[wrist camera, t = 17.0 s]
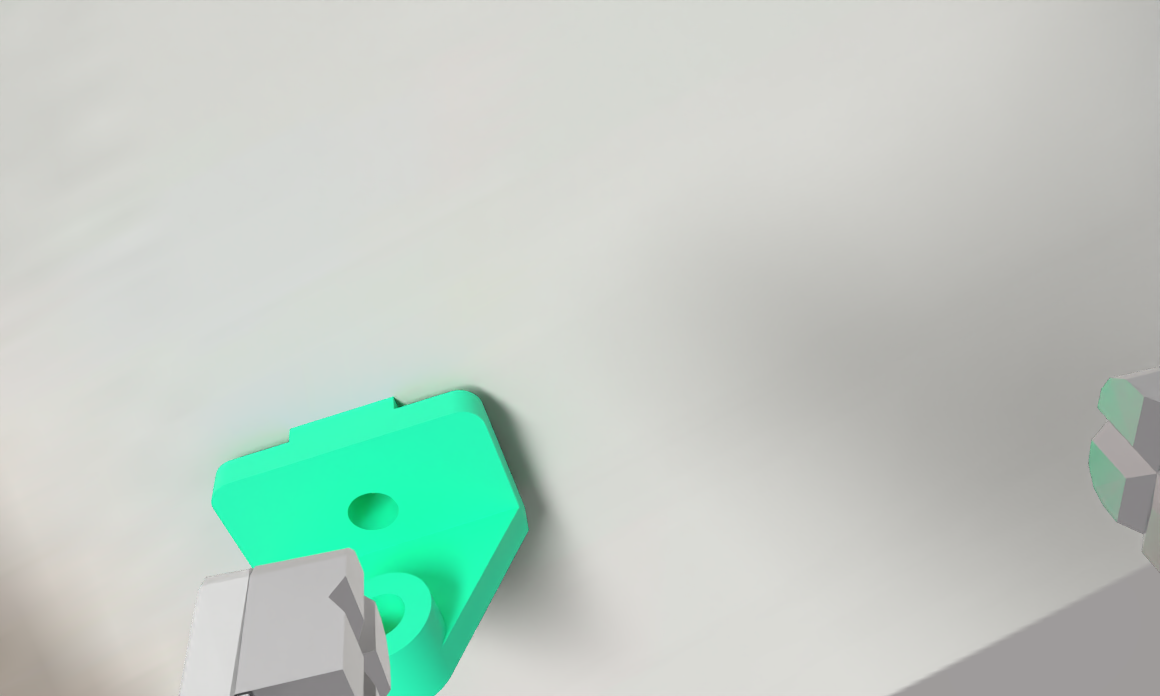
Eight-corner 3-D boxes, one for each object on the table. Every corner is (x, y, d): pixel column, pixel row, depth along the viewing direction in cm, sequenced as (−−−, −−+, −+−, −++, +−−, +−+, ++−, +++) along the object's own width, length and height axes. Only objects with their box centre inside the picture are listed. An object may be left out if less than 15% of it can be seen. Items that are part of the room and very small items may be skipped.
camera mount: (472, 369, 45) (496, 535, 37) (521, 491, 50) (553, 664, 41) (209, 451, 46) (174, 635, 37) (282, 566, 50) (265, 754, 42)
